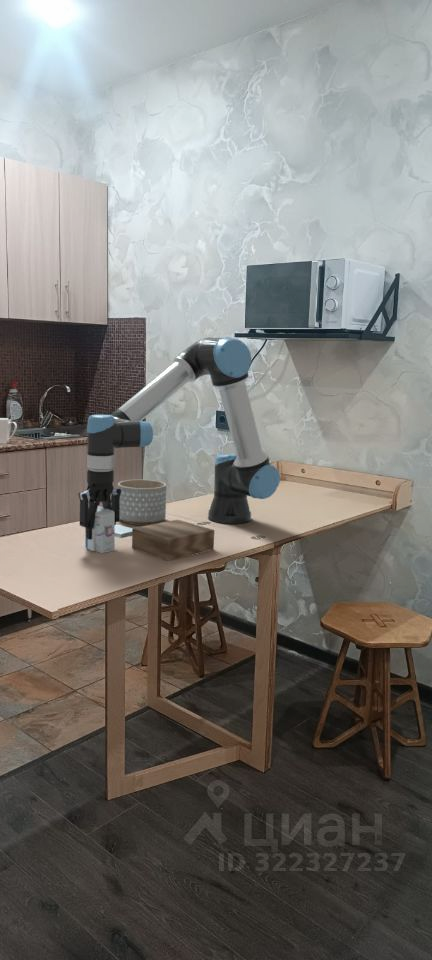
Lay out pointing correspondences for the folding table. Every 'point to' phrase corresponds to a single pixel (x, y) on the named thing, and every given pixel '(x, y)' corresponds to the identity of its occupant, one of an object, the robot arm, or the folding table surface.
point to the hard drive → (122, 531)
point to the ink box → (104, 530)
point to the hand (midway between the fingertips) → (99, 547)
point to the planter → (142, 501)
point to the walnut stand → (172, 539)
